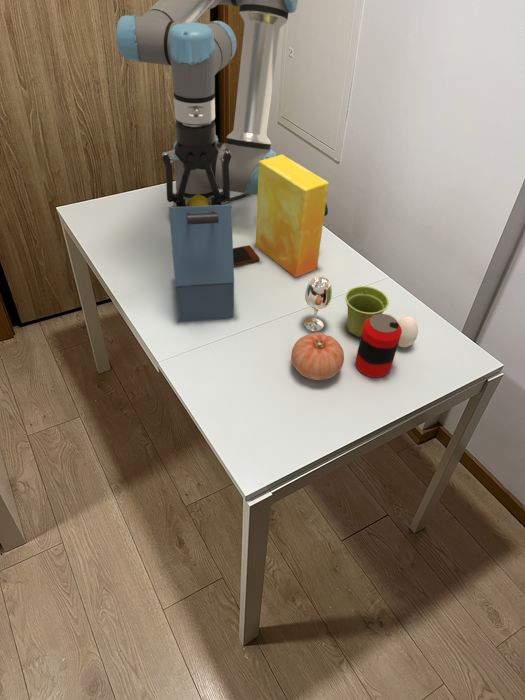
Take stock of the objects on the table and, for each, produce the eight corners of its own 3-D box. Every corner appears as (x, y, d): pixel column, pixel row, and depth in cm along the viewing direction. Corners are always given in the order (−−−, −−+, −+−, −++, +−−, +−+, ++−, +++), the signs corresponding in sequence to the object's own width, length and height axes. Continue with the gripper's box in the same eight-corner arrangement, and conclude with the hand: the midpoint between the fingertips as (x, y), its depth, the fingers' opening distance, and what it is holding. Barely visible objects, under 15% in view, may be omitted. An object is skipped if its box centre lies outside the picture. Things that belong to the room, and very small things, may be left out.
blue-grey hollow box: (175, 280, 132) (172, 247, 125) (225, 277, 134) (225, 244, 127) (178, 322, 121) (175, 287, 114) (233, 317, 123) (234, 283, 116)
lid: (168, 207, 107) (169, 213, 101) (230, 204, 109) (235, 210, 103) (175, 285, 114) (176, 295, 107) (233, 281, 116) (238, 291, 109)
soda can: (388, 381, 110) (401, 339, 102) (352, 373, 112) (362, 331, 103) (392, 357, 116) (405, 315, 107) (357, 349, 117) (367, 307, 109)
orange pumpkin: (328, 396, 107) (334, 368, 101) (280, 376, 110) (283, 348, 105) (348, 363, 114) (354, 335, 108) (303, 345, 117) (306, 317, 112)
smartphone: (196, 255, 138) (249, 244, 143) (196, 258, 139) (249, 247, 144) (205, 270, 134) (260, 258, 138) (205, 273, 134) (260, 261, 139)
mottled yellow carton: (331, 262, 140) (345, 176, 124) (295, 278, 135) (305, 190, 118) (290, 232, 150) (298, 149, 134) (254, 245, 145) (258, 160, 128)
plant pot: (386, 341, 119) (394, 311, 113) (346, 344, 118) (352, 314, 112) (373, 314, 126) (380, 284, 120) (335, 317, 124) (340, 287, 118)
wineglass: (322, 336, 120) (329, 293, 111) (298, 329, 121) (303, 287, 112) (329, 320, 124) (336, 278, 115) (305, 314, 125) (311, 272, 116)
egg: (388, 350, 117) (396, 324, 112) (389, 334, 121) (397, 308, 116) (413, 355, 116) (421, 328, 111) (413, 339, 120) (422, 313, 115)
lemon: (192, 219, 119) (190, 186, 113) (215, 224, 118) (215, 191, 112) (182, 232, 115) (180, 198, 109) (206, 237, 114) (206, 203, 108)
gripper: (145, 129, 96) (157, 240, 112) (247, 126, 99) (244, 235, 115) (144, 113, 101) (156, 221, 117) (241, 111, 104) (239, 217, 120)
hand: (199, 228), depth 116 cm, fingers closed on lemon, 6 cm apart
